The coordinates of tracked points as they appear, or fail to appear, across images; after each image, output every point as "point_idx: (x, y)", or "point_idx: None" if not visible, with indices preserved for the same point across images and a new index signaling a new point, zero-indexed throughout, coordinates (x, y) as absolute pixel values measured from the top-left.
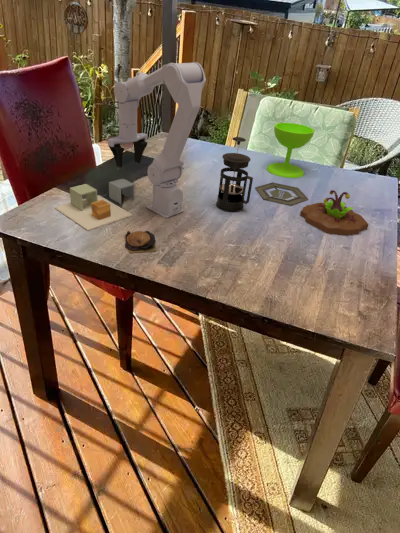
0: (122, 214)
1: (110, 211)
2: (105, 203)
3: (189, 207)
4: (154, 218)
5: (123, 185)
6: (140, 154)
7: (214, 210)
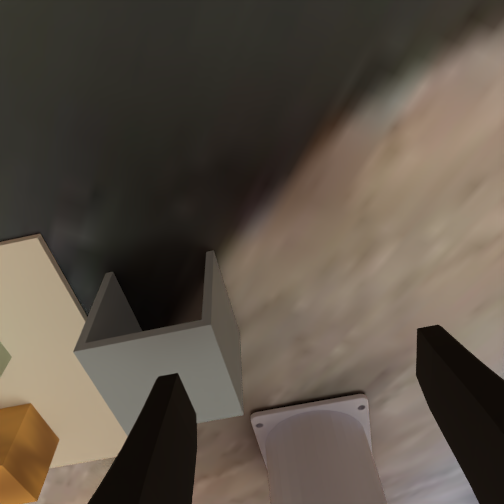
0: (115, 440)
1: (50, 463)
2: (13, 492)
3: (419, 447)
4: (234, 472)
5: None
6: (474, 489)
7: None
